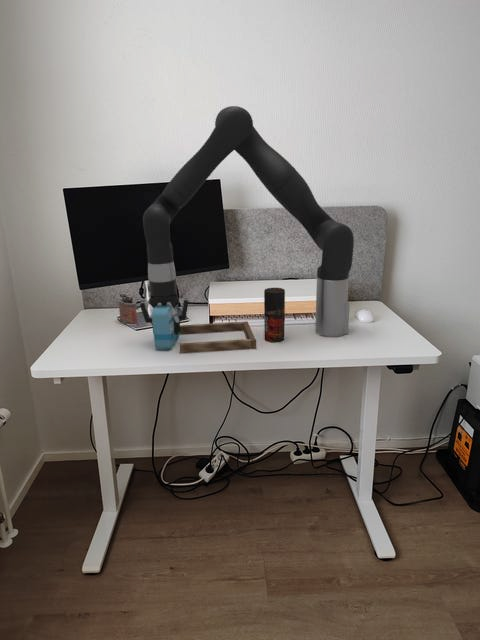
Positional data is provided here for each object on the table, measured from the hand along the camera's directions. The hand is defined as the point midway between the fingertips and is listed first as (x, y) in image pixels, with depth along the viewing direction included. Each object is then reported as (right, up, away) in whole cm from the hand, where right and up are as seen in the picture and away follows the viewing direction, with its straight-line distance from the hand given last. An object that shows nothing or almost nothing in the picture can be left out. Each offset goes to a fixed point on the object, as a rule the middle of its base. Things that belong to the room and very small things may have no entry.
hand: (166, 334), depth 149 cm
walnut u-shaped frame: (+13, -2, +3) cm, 14 cm away
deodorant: (+31, -2, +3) cm, 32 cm away
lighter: (-15, +3, +19) cm, 25 cm away
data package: (0, -3, +1) cm, 3 cm away
